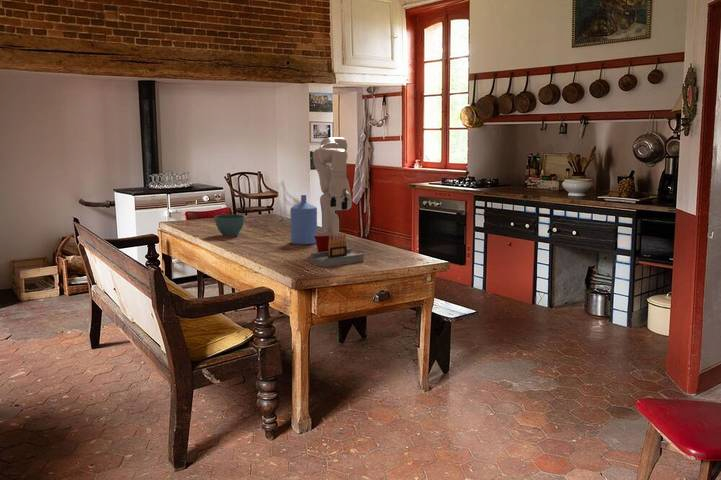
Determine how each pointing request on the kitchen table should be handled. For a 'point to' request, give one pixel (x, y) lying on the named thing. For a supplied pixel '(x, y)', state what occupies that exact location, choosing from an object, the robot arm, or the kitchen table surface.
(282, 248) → the kitchen table surface
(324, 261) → the grey tray
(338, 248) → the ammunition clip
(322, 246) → the plastic cup
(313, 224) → the water jug
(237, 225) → the plant pot
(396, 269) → the kitchen table surface
